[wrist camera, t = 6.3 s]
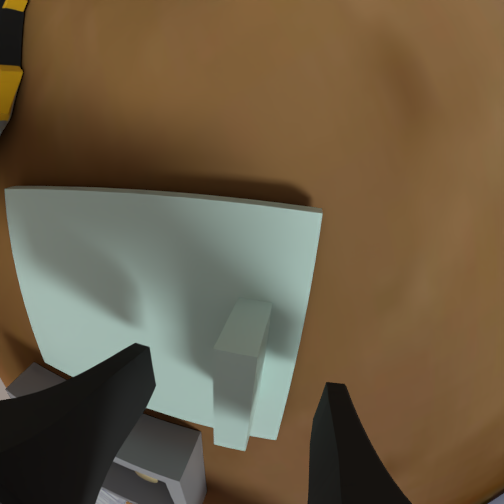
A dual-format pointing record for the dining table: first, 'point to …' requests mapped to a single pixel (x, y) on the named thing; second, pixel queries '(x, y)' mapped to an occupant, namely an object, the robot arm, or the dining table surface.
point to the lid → (171, 293)
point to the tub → (142, 454)
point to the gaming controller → (10, 55)
